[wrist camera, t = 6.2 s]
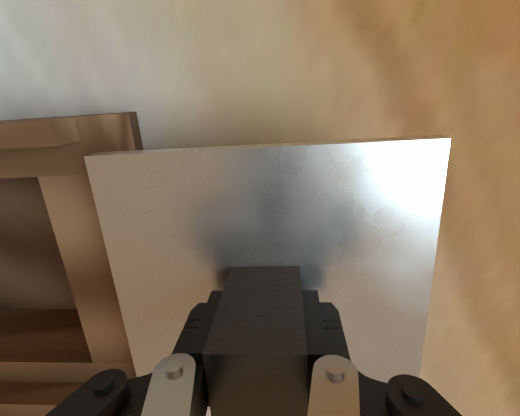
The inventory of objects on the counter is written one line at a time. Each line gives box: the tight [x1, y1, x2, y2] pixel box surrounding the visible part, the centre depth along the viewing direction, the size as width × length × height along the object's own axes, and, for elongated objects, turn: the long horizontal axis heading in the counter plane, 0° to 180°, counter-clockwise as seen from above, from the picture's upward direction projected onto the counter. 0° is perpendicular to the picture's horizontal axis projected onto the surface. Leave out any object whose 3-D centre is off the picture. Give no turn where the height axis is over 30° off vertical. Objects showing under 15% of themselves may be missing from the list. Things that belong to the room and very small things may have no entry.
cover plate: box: [84, 135, 451, 416], centre depth 12 cm, size 13×14×6 cm
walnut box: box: [0, 112, 143, 416], centre depth 19 cm, size 16×16×8 cm
